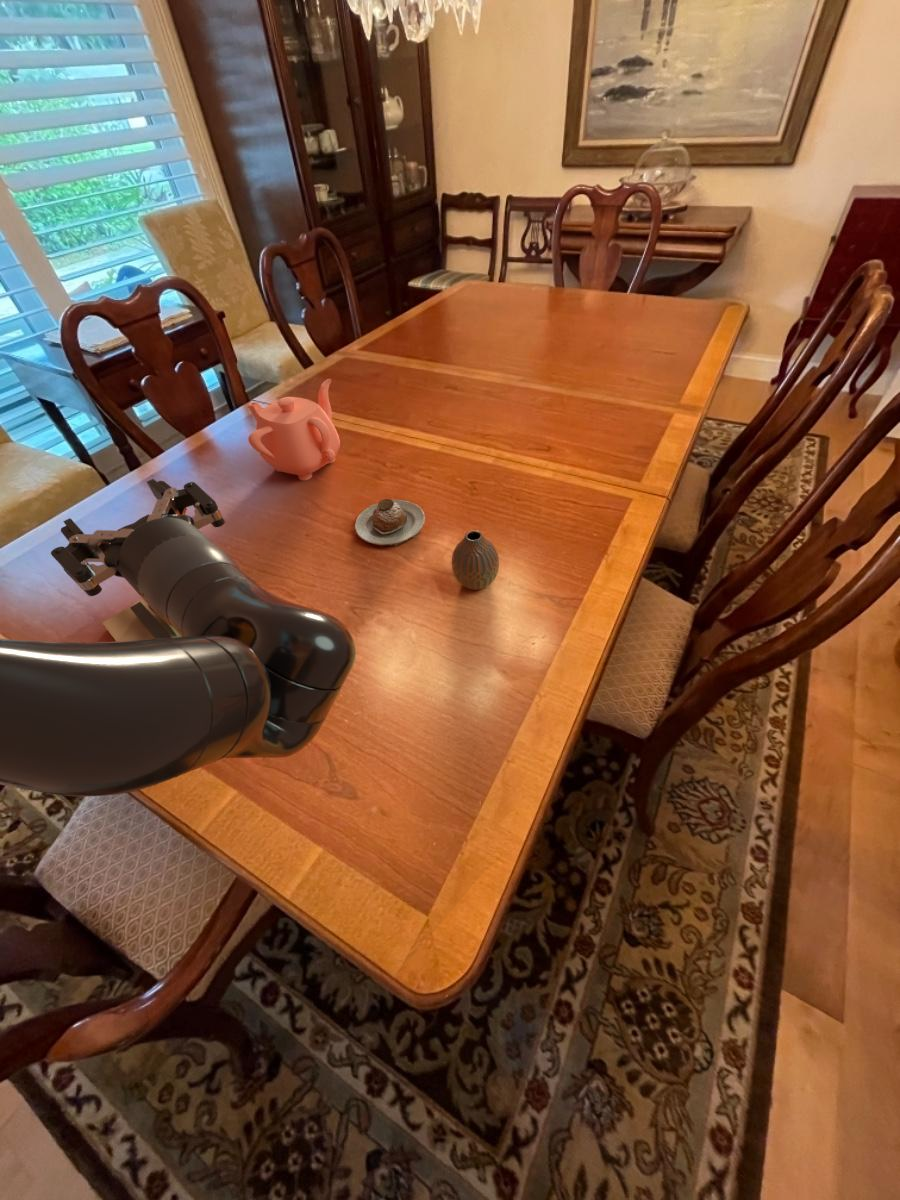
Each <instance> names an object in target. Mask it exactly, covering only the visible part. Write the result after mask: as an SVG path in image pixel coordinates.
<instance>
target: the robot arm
mask: <svg viewBox="0 0 900 1200" xmlns="http://www.w3.org/2000/svg"><path fill="white" fill-rule="evenodd" d="M146 484H147V486H148V488H149V490H150V492H151V493H152V494H153V496H154V497H155V499H156V502H155V505H154V507H153V509H152V512H151V514H146V515H143V516H142V517H140V518H139V519H138V520H136V521H135V522H133V523H130V524H127V525H125V526H123V527H120V528H118V529H117V530H108V529H107V530H106V529H105V530H103V529H101V530H99V529H97V530H95V531H94V532H93V533H92V534H90V533H84V531H82V529H81V528H80V527H79V526H78V525H77V524H76V522H75V521H74V520H73V519H72V518H70V517H69V518H67V519H65V520H63V521H62V522H63V524H64V525H65V526H63V527H61V528H60V532H61V534H62V535H63V536H64V538H65V539H66V540H67V542H68V544H67V546H57V547H55V548H53V549H52V550H51V551H50V555H51V556H52V557H53V559H54V560H56V562H58V564H59V565H60V566H61V567H62V569H63V571H64V572H65V573H66V574H67V576H69V577H70V578H71V579H72V580H73V581H74V583H75V584H77V586H78V587H79V588H80V589H81V590H82V591H84V592H85V594H86V595H87V596H88V597H95V596H97V595H99V594H100V593H101V592H102V590H103V587H102V586H101V585H100V584H102V583H103V582H105V581H106V580H108V579H110V578H112V577H114V576H115V577H118V578H123V579H125V580H126V582H127V583H128V584H129V586H130V587H132V588H133V589H134V591H135V592H136V593H137V594H138V595H139V596H140V597H141V599H144V600H145V602H146V603H147V604H148V606H149V608H150V609H151V610H152V611H153V612H154V613H155V614H157V615H158V616H159V617H160V618H161V619H163V620H164V621H165V622H166V623H168V624H169V625H171V626H172V627H173V628H174V629H175V630H176V631H177V632H178V633H179V635H180V636H181V637H175V638H160V639H147V640H134V641H120V642H116V641H96V642H94V641H93V642H91V641H90V642H67V641H63V642H62V641H44V640H43V641H41V640H26V639H25V640H21V639H9V638H0V786H5V787H10V788H17V789H22V790H27V791H32V792H38V793H43V794H50V795H57V796H65V797H82V798H83V797H84V798H85V797H86V798H87V797H88V798H89V797H90V798H91V797H103V796H117V795H122V794H128V793H134V792H137V791H140V790H144V789H147V788H151V787H153V786H156V785H159V784H161V783H164V782H167V781H170V780H172V779H174V778H178V777H181V776H183V775H186V774H188V773H190V772H193V771H194V770H195V771H196V770H198V769H201V768H203V767H206V766H207V765H210V764H213V763H216V762H218V761H220V760H222V759H251V758H253V759H255V758H270V759H271V758H273V759H274V758H277V759H278V758H287V757H291V756H293V755H294V754H297V753H298V752H300V751H301V750H303V749H304V748H305V747H307V745H309V744H310V743H311V742H312V741H313V740H314V738H315V737H316V736H317V734H318V733H319V732H320V730H321V728H322V727H323V724H324V723H325V720H326V719H327V717H328V714H329V713H330V711H331V709H332V707H333V705H334V703H335V701H336V699H337V698H338V696H339V694H340V692H341V690H342V688H343V687H344V684H345V682H346V681H347V679H348V677H349V675H350V673H351V671H352V670H353V667H354V664H355V661H356V657H357V648H356V645H355V644H356V643H355V640H354V637H353V635H352V634H351V632H350V630H349V629H348V627H347V625H345V624H344V623H343V622H342V621H341V620H340V619H338V618H337V617H335V616H333V615H331V614H329V613H326V612H324V611H322V610H320V609H316V608H312V607H310V606H305V605H302V604H299V603H295V602H292V601H290V600H287V599H285V598H282V597H280V596H277V595H276V594H274V593H272V592H270V591H268V590H266V588H265V589H264V587H262V586H261V585H260V584H258V583H257V582H256V581H255V580H253V579H252V578H251V577H250V576H249V575H248V574H247V573H246V572H245V571H243V570H242V569H241V568H240V567H239V566H238V564H237V562H235V560H234V559H233V558H232V557H231V556H230V555H229V554H228V553H226V551H224V550H223V549H222V548H221V547H219V546H218V545H217V544H216V543H215V542H214V541H213V540H211V539H210V538H209V537H208V536H206V535H205V534H204V533H203V532H202V531H201V530H200V529H202V528H204V527H205V526H208V525H210V524H211V526H212V527H213V528H221V527H222V526H224V525H225V523H226V521H225V519H224V517H223V515H222V513H221V511H220V508H219V506H218V504H217V501H215V500H214V498H212V497H211V496H210V495H209V494H208V493H207V492H206V491H205V490H204V489H202V487H200V485H198V484H197V483H196V482H195V481H189V482H186V483H185V484H184V485H183V488H181V489H177V488H176V487H172V486H171V485H169V484H168V483H167V482H166V481H165V480H158V481H157V480H156V479H154V478H151V479H150V480H147V481H146ZM190 507H193V508H194V510H193V512H194V515H193V516H190V515H187V514H186V513H187V510H188V508H190ZM94 563H102V564H100V565H97V564H94Z"/></svg>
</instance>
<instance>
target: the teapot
mask: <svg viewBox="0 0 900 1200" xmlns="http://www.w3.org/2000/svg"><path fill="white" fill-rule="evenodd" d="M331 383H332V378H327V379H325V380H324V381H323V382H322V383H321V385H320V386H319V389H318V398H317V403H316V402H315V401H313V400H311V399H308V398H304V397H297V396H285V397H281V398H280V399H278V400H275V401H274V402H272V403H270V404H269V405H267V406H265V407H263V406H261V405H260V404H259V402H254V401H252V402H250V403H249V404H247V407H248V409H249V410H250V412H251V415H252V416H253V418H254V420H255V421H256V427H255V428H256V429H255V430H254V431H252V432H251V433H250V434H249V436H248V444H250V446H251V447H252V448H253V450H255V451H256V452H258V453H259V454H260V456H261V458H262V459H263V460H264V462H266V463H267V464H269V466H271V467H272V468H274V469H275V471H276V472H283V473H286V474H290V475H297V477H298V479H299V480H300V481H308V480H310V479H311V478H312V477H313V473H314V472H316V471H318V470H320V469H321V468H323V467H324V466H326V465H327V464H328V465H329V464H332V463H334V462H335V461H336V456H337V455H338V453H339V450H340V449H341V448H340V447H341V440H340V436H339V433H338V431H337V428H336V427H335V425H334V423H333V422H332V419H333V410H332V406H331V404H330V398H329V388H330V386H331Z"/></svg>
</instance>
